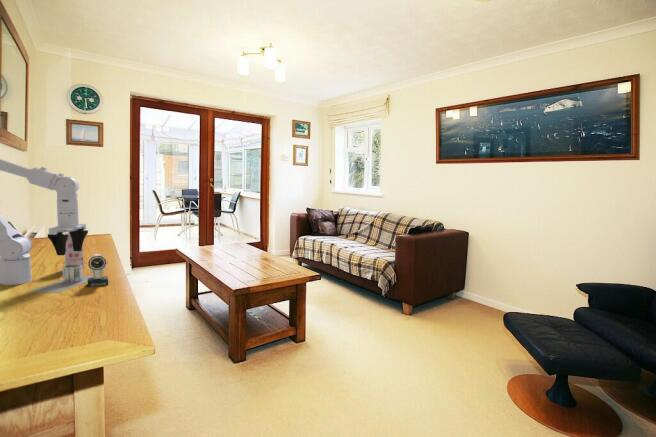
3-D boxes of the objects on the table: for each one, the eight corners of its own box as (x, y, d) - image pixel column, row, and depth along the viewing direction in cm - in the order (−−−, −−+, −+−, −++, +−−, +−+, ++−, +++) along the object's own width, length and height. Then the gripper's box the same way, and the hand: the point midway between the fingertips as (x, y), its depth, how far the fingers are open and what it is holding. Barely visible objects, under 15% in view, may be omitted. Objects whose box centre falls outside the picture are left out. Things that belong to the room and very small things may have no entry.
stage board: (27, 295, 107) (27, 291, 106) (76, 278, 126) (75, 275, 126) (57, 296, 106) (57, 292, 106) (101, 279, 126) (101, 276, 126)
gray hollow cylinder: (59, 282, 117) (58, 267, 116) (70, 278, 122) (70, 264, 122) (75, 283, 117) (74, 268, 116) (86, 279, 122) (85, 264, 121)
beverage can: (62, 272, 135) (61, 232, 133) (79, 269, 139) (78, 231, 138) (69, 274, 132) (67, 234, 130) (86, 271, 136) (85, 232, 135)
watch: (87, 292, 111) (86, 257, 110) (88, 285, 118) (87, 252, 117) (108, 290, 114) (107, 255, 113) (108, 283, 121) (107, 251, 120)
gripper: (63, 215, 113) (65, 257, 114) (94, 211, 128) (95, 249, 129) (41, 214, 113) (43, 256, 114) (74, 211, 128) (75, 249, 129)
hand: (69, 253), depth 122 cm, fingers open, 7 cm apart
